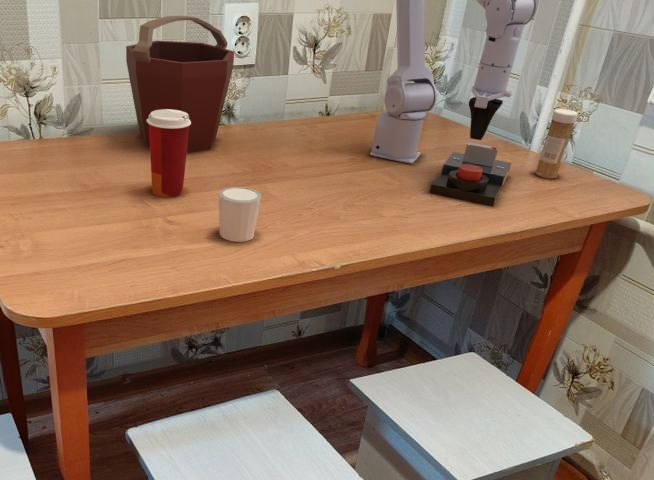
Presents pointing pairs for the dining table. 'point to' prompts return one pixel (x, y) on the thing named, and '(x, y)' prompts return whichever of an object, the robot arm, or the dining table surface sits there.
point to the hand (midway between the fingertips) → (476, 138)
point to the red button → (470, 172)
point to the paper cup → (168, 150)
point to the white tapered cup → (238, 213)
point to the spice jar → (556, 143)
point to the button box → (466, 188)
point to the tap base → (494, 173)
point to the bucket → (180, 80)
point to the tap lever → (480, 154)
